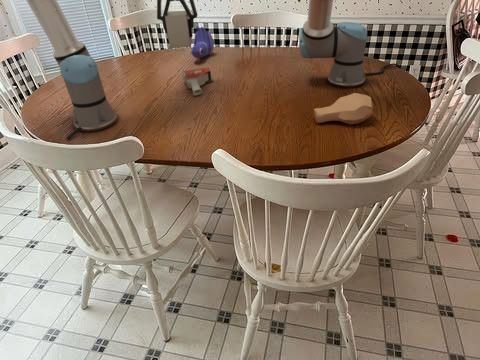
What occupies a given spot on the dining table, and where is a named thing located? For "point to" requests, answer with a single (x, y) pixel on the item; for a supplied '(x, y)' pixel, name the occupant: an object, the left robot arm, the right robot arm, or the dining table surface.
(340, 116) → the squash
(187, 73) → the tape dispenser
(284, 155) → the dining table surface
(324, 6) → the right robot arm
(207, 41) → the toy
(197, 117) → the dining table surface
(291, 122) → the dining table surface
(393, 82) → the dining table surface
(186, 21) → the block
